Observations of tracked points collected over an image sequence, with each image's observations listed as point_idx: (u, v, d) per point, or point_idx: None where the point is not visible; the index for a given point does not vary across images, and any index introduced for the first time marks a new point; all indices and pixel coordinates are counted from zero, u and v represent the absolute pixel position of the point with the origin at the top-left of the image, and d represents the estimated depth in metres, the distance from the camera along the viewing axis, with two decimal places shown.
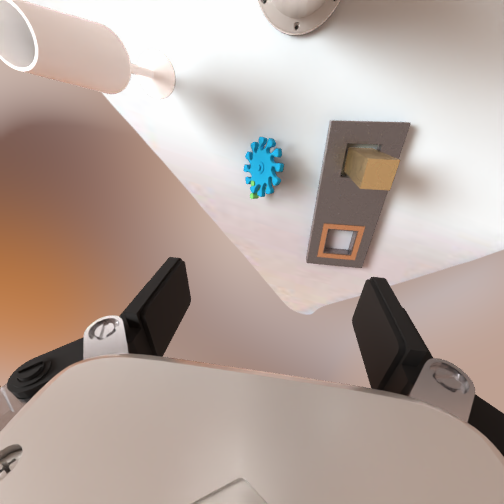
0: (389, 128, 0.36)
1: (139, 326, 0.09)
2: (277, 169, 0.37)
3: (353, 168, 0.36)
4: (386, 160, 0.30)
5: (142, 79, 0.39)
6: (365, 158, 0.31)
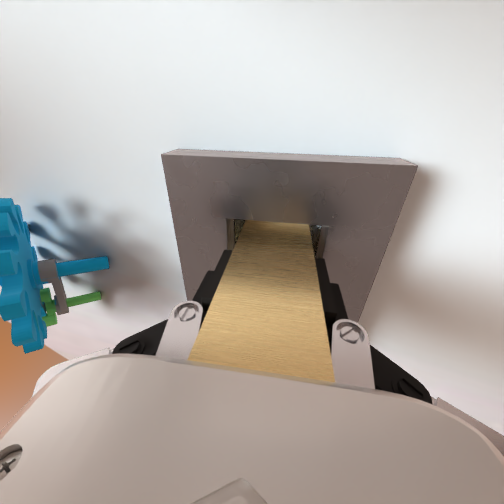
0: (346, 181, 0.11)
1: None
2: None
3: None
4: None
5: None
6: None
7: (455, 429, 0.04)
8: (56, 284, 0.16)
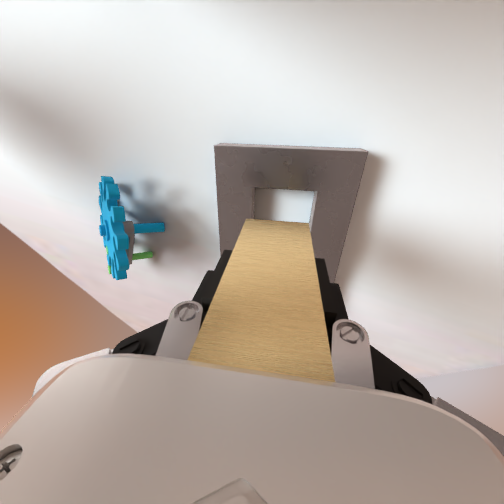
0: (327, 161, 0.18)
1: None
2: (116, 245, 0.19)
3: None
4: None
5: None
6: None
7: (455, 429, 0.04)
8: (132, 238, 0.23)
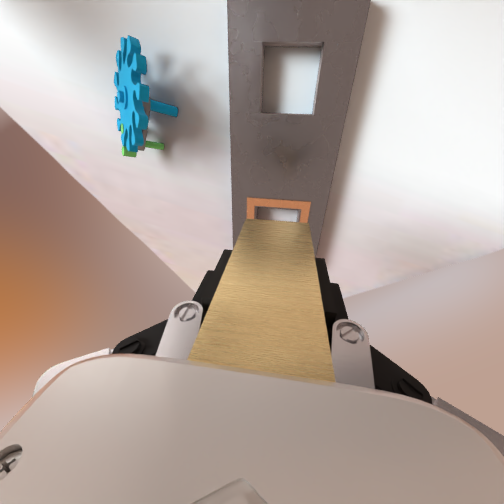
0: (334, 4, 0.19)
1: None
2: (137, 95, 0.20)
3: None
4: None
5: None
6: None
7: (455, 429, 0.04)
8: (147, 113, 0.24)
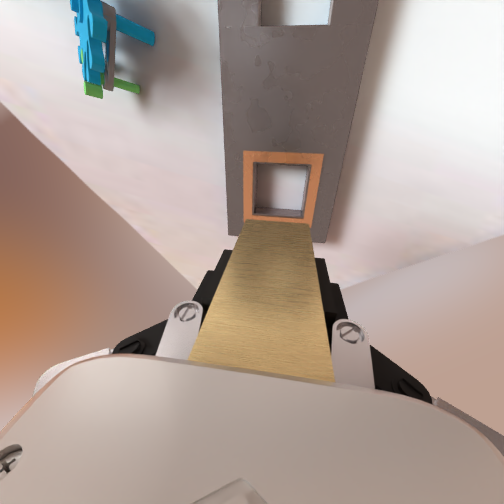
0: None
1: None
2: None
3: None
4: None
5: None
6: None
7: (455, 429, 0.04)
8: (113, 32, 0.19)
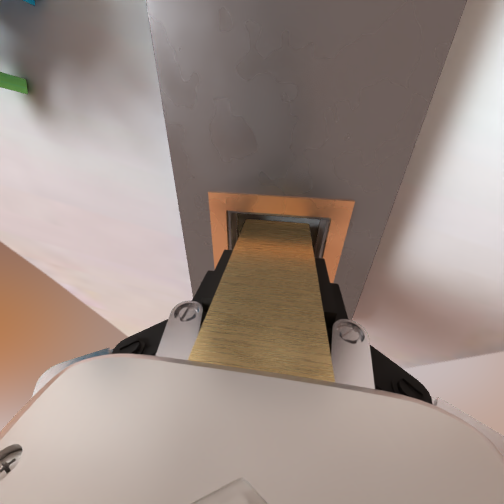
0: None
1: None
2: None
3: None
4: None
5: None
6: None
7: (455, 429, 0.04)
8: None
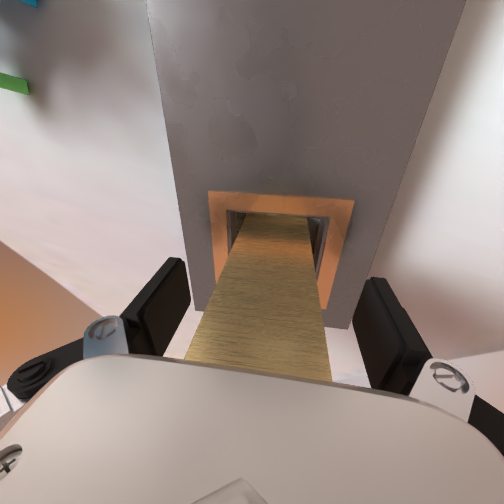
0: None
1: (139, 326, 0.09)
2: None
3: None
4: None
5: None
6: (186, 359, 0.06)
7: (455, 429, 0.04)
8: None
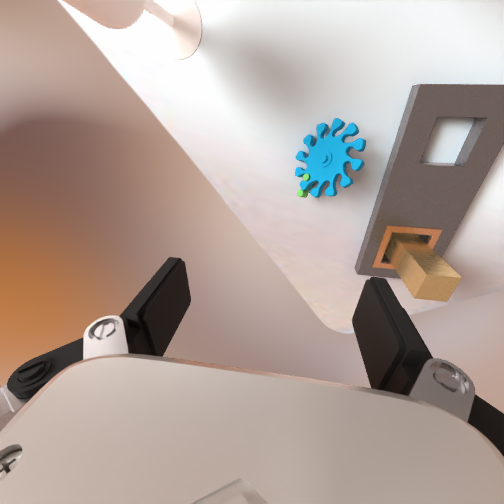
0: (502, 94, 0.26)
1: (139, 326, 0.09)
2: (354, 167, 0.28)
3: (401, 264, 0.34)
4: (446, 277, 0.28)
5: (157, 30, 0.28)
6: (421, 270, 0.29)
7: (455, 429, 0.04)
8: None
